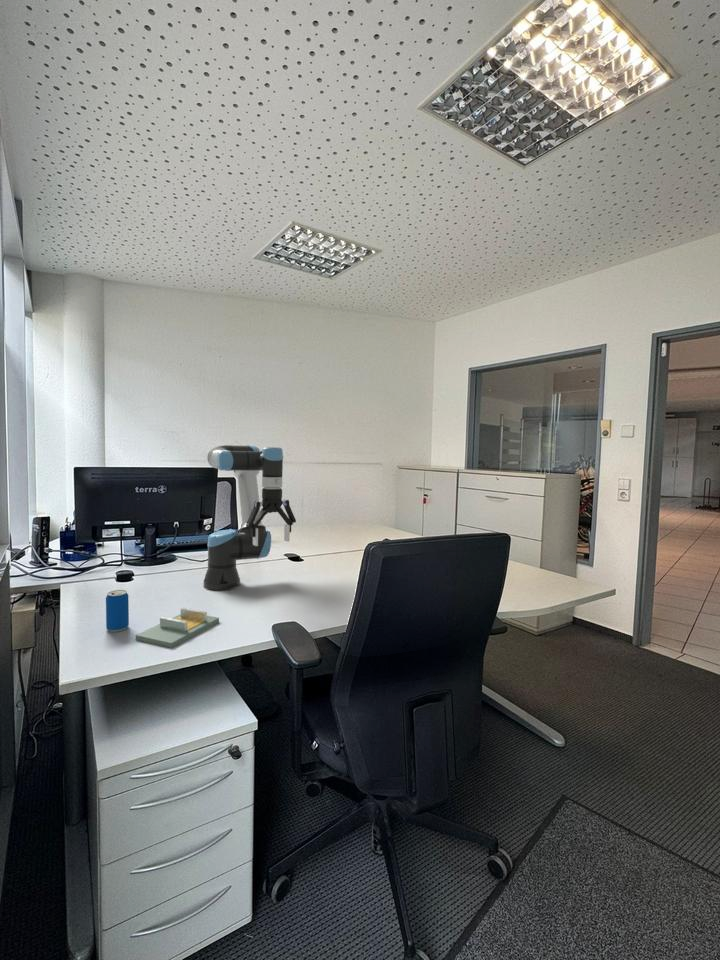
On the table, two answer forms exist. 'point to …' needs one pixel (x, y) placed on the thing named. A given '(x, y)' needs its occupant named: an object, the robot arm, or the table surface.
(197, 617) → the chute bracket
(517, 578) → the table surface
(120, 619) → the beverage can
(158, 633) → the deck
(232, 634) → the table surface
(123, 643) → the table surface
